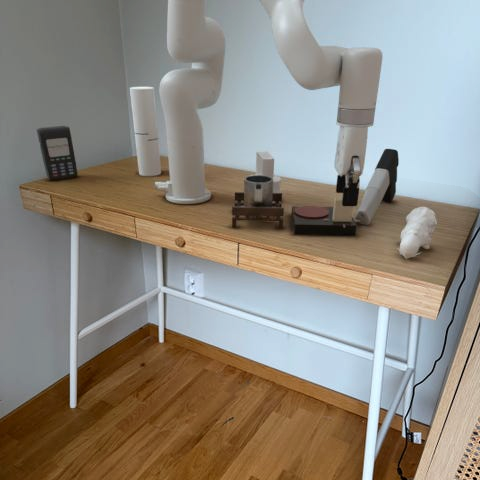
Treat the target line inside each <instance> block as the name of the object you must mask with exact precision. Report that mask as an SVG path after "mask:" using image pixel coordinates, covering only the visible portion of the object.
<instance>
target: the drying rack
mask: <svg viewBox="0 0 480 480" xmlns="http://www.w3.org/2000/svg"><path fill="white" fill-rule="evenodd" d="M234 201H235V202H234V206H231V216H232V217H231V227H232V229H237V223H238V222H239V221H240V222H278V229H279V230H282V229H284V216H285V215H284V214H285V207H284V206H283V204H282V203H283V202H282V201H283V192H280V193H273V197H272V201H275V203H272V207H244V191H234ZM279 201H280V202H279ZM282 206H283V207H282ZM237 221H238V222H237Z"/></svg>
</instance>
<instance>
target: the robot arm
mask: <svg viewBox="0 0 480 480" xmlns="http://www.w3.org/2000/svg"><path fill="white" fill-rule="evenodd" d="M305 1H306V0H259V2H260V4H261V5H262V7H263V9H264V10H265V12H266V14H267V15H268V17H269V19H270V23H271V33H272V36H273V41H274V45H275V48H276V50H277V52H278V55H279V57H280V59H281V60H282V62H283V64H284V65H285V68H286V69H287V70H288V72H289V73H290V75H291V77H292V78H293V79H294V81H295V82H296V83H297V84H298V86H300V87H302V88H303V89H305V90H308V91H316V90H322V89H328V88H332V87H339V93H338V104H337V112H336V113H337V115H336V125H337V126H339V129H338V133H337V134H338V135H337V141H336V149H335V155H334V156H335V157H334V163H333V166H334V170H335V171H336V173H337V175H336V184H335V192H336V194H342V198H343V199H342V205H343V206H354V207H357V206H358V202H359V195H360V187H361V186H360V184H361V183H360V182H361V178H360V177H361V176H362V175H363V173H364V168H365V160H366V153H367V144H368V132H369V128H370V127H373V126H374V124H375V123H374V122H375V115H376V109H377V102H378V101H377V100H378V95H379V94H378V93H379V87H380V78H381V72H382V65H383V64H382V63H383V52H382V50H381V49H380V48H378V47H366V46H365V47H350V48H349V47H343V46H337V45H320V44H319V42H317V39H316V37H315V36H314V34H313V32H312V31H311V29H310V28H309V26H308V23H307V21H306V18H305V14H304V9H303V7H304V2H305ZM206 8H207V0H167V18H166V19H167V20H166V21H167V22H166V23H167V25H166V47H167V52H168V55H169V56H170V58H171V59H172V60H174V61H175V62H178V63H179V64H180V63H182V64H191V67H186V68H177V69H173V70H170V71H168V72H166V73H165V75H163V76H162V78H161V80H160V82H159V89H158V92H159V94H158V95H159V99H160V103H161V107H162V112H163V116H164V123H165V133H166V144H167V145H166V146H167V157H168V158H167V159H168V172H169V180H165V181H166V182H163V181H155V182H154V189H155V190H157V191H161V192H162V191H164V192H165V191H166V193H165V200H167V201H168V202H170V203H174V204H179V205H195V204H201V203H204V202H207V201H209V200H210V199H211V198H212V192H211V191H210V190H209V189H207V188H206V175H205V174H206V173H205V149H204V148H205V147H204V145H205V144H204V143H205V142H204V128H203V123H202V120H201V118H200V116H199V115H200V114H199V113H198V112H199V111H198V110H202V109H206V108H209V107H212V106H214V105H215V104H216V103H217V102H218V100H219V98H220V96H221V93H222V87H223V76H224V65H225V57H226V56H225V55H226V38H225V33H224V30H223V29H222V26H221V25H220V23H219V22H218V21H216V20H215V19H214V18H212V17H208V16H206Z"/></svg>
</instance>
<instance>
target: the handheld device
mask: <svg viewBox="0 0 480 480" xmlns="http://www.w3.org/2000/svg"><path fill="white" fill-rule="evenodd" d="M399 164H400V163H399V152H398V150H397V149H393V148H385V149H383V152H382V153H381V156H380V158H379V160H378V162H377V164H376V166H375V168H374V171H373V174H372V176H371V178H370V180H369V182H368V184H367V186H366V188H365V191H364V195H363V197H362V200H361V202H360V205H359V207H358V211H357V213H356V216H355V220H360V221H356V224H360V225H364V226H369V225H370V224H371V222H372V220H373V218H374V217H375V215H376V212H377V210H378V208H379V206H380V204H381V203H388V204H391V203H392V202H393V200H394V197H395V195H396V193H397V181H398V167H399Z"/></svg>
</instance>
